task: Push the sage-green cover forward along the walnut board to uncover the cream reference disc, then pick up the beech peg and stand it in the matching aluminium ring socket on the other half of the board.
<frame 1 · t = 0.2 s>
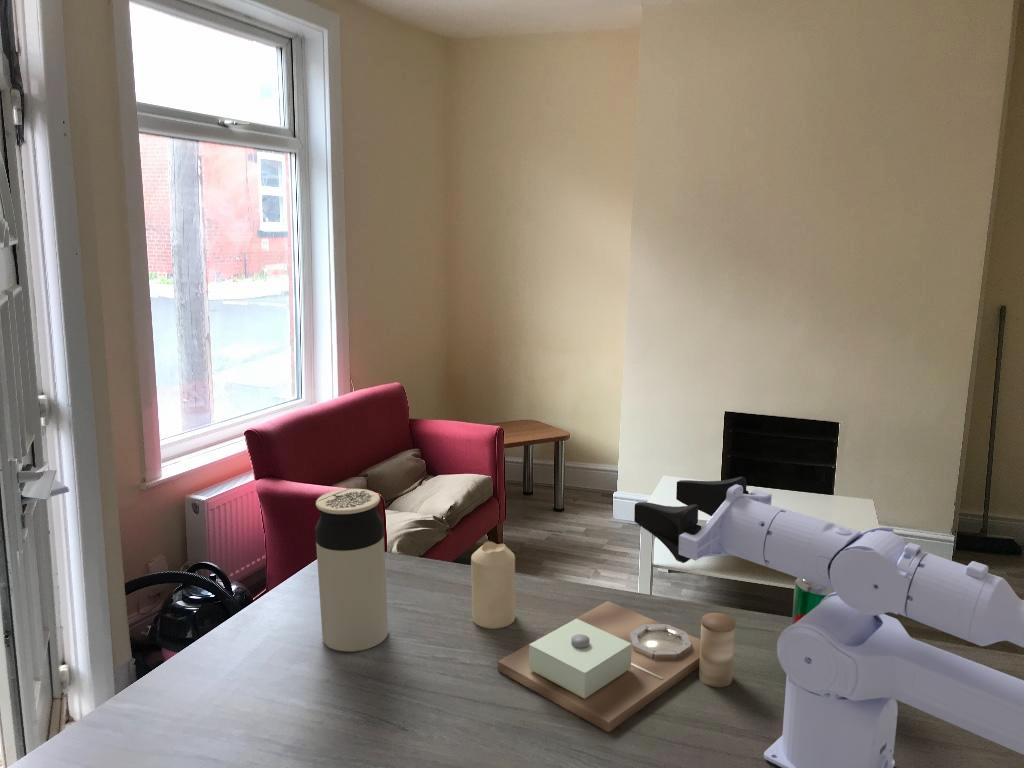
hand: (657, 500, 87), 21 cm above the table, tool horizontal, fingers open, 7 cm apart
board: (608, 662, 95), on the table
socket ring: (659, 652, 97), resting on board
soda can: (812, 676, 92), on the table
cover: (580, 653, 91), point 3 cm above the table, slide at 0.0 cm
peg: (715, 677, 92), on the table
travel mug: (355, 638, 101), on the table
candle: (493, 619, 105), on the table
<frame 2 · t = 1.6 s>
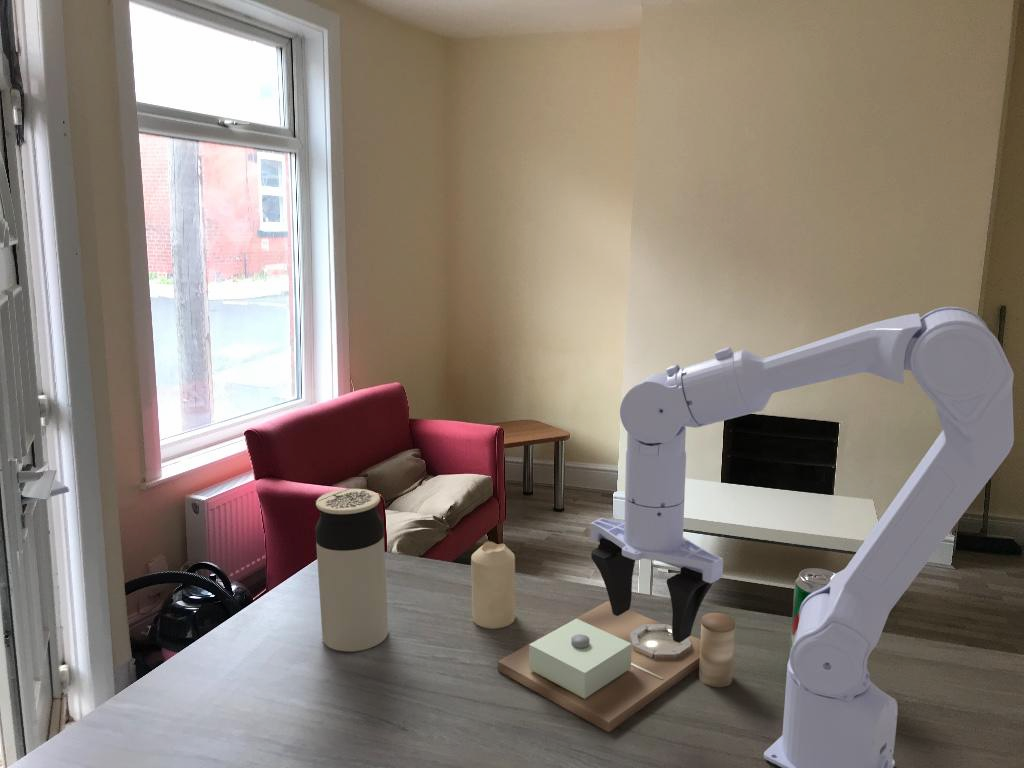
hand: (650, 624, 83), 10 cm above the table, tool pointing down, fingers open, 7 cm apart
nothing on the table moved.
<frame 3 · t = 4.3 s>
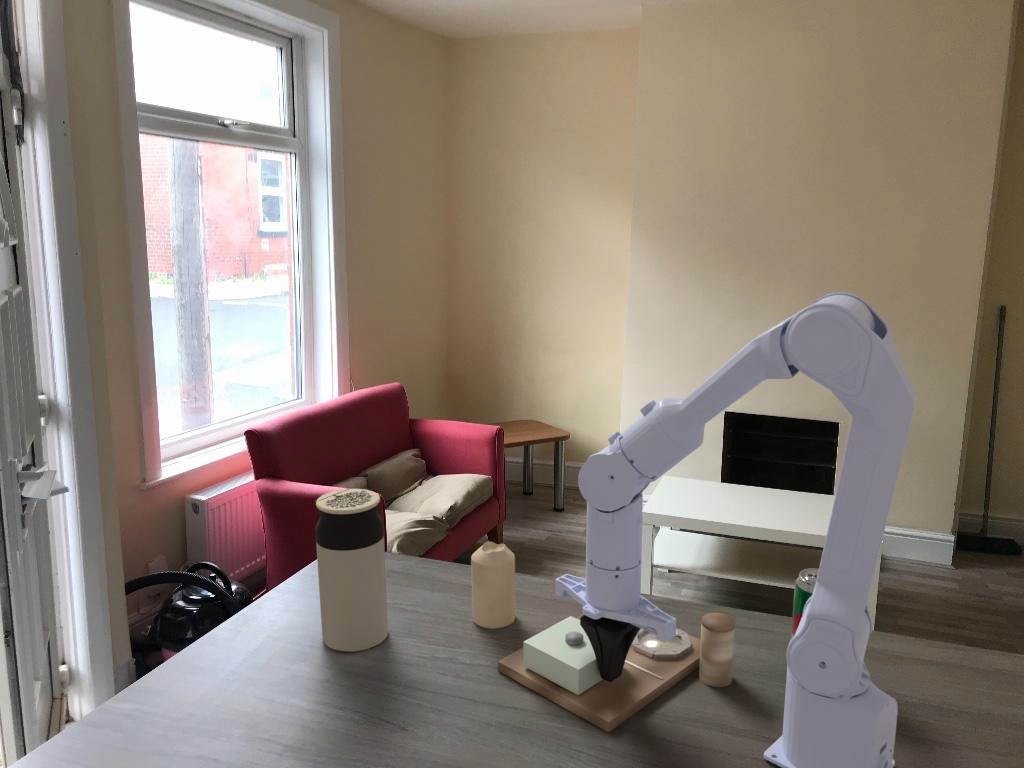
hand: (611, 676, 88), 2 cm above the table, tool pointing down, fingers closed
cover: (574, 650, 91), point 3 cm above the table, slide at 0.9 cm, touching gripper
everything else where it was.
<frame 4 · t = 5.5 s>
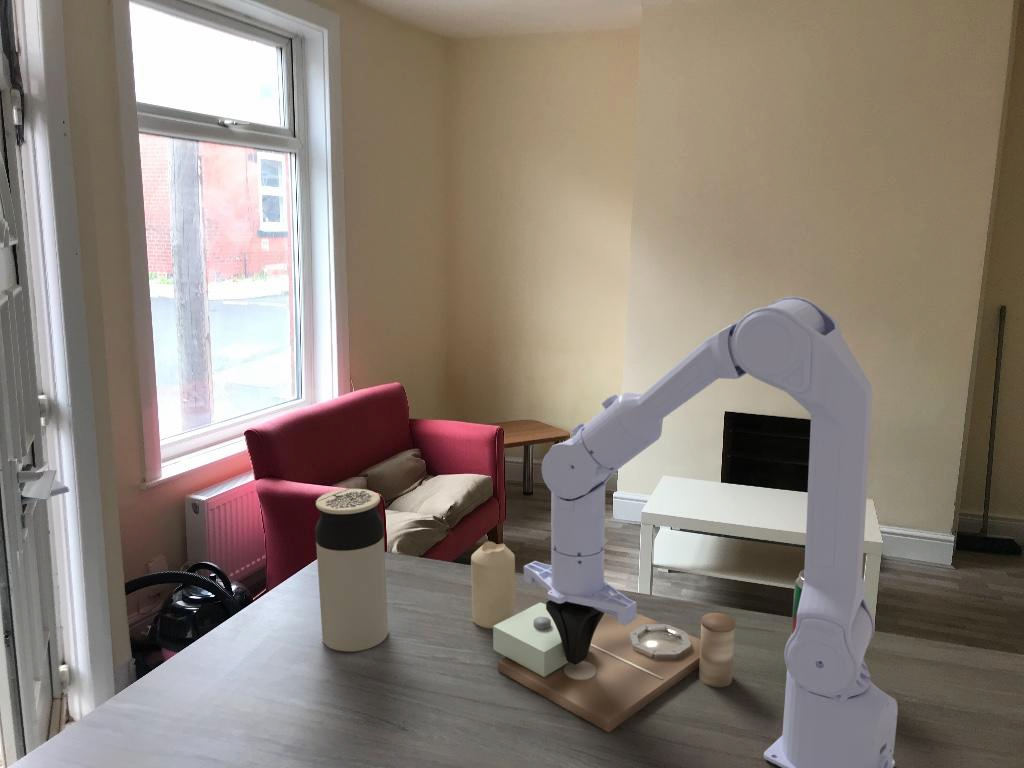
hand: (576, 659, 91), 2 cm above the table, tool pointing down, fingers closed
cover: (542, 635, 95), point 3 cm above the table, slide at 5.7 cm, touching gripper
everything else where it was.
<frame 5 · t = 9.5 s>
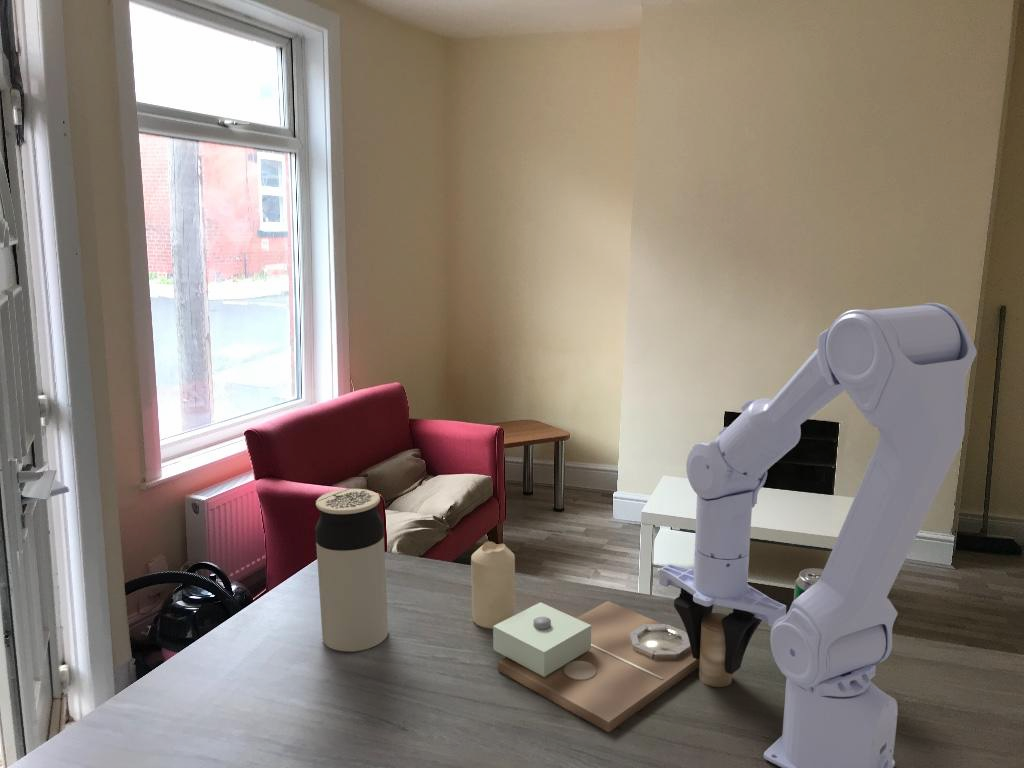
hand: (716, 662, 91), 2 cm above the table, tool pointing down, fingers closed on peg, 4 cm apart
cover: (542, 635, 95), point 3 cm above the table, slide at 5.8 cm
peg: (715, 677, 92), on the table, touching gripper
everything else where it was.
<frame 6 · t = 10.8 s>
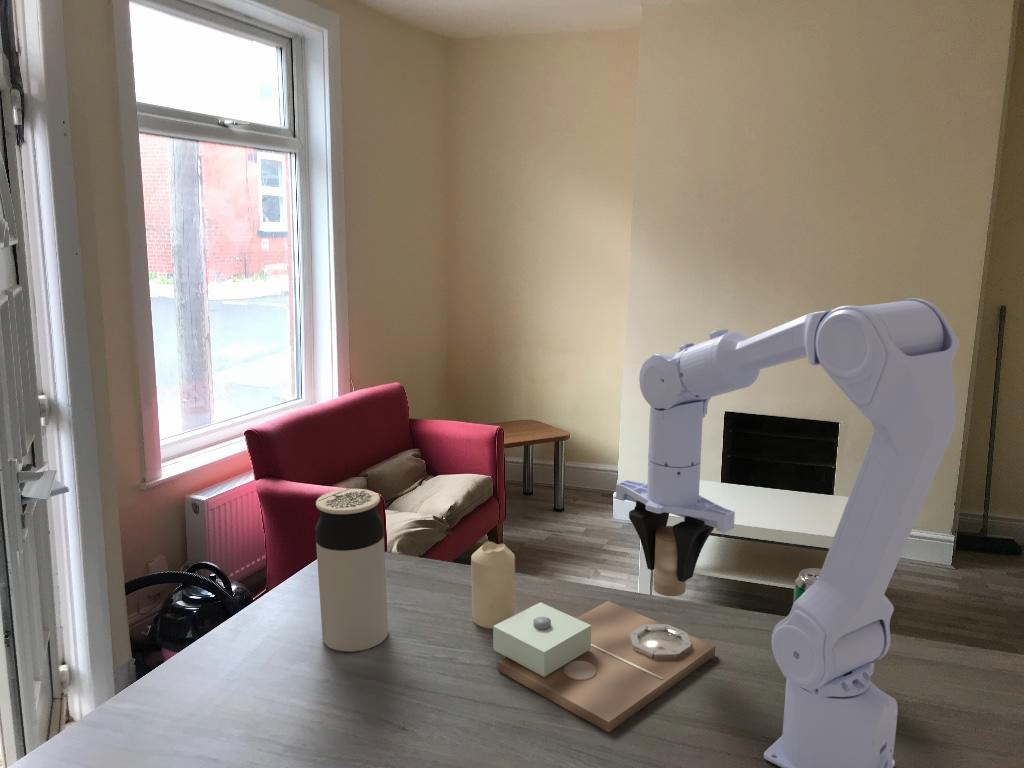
hand: (669, 572, 94), 11 cm above the table, tool pointing down, fingers closed on peg, 4 cm apart
peg: (669, 588, 95), point 8 cm above the table, touching gripper
everything else where it was.
when the fingers open (4 cm above the table, at t = 12.4 s): peg stays where it is, resting on socket ring.
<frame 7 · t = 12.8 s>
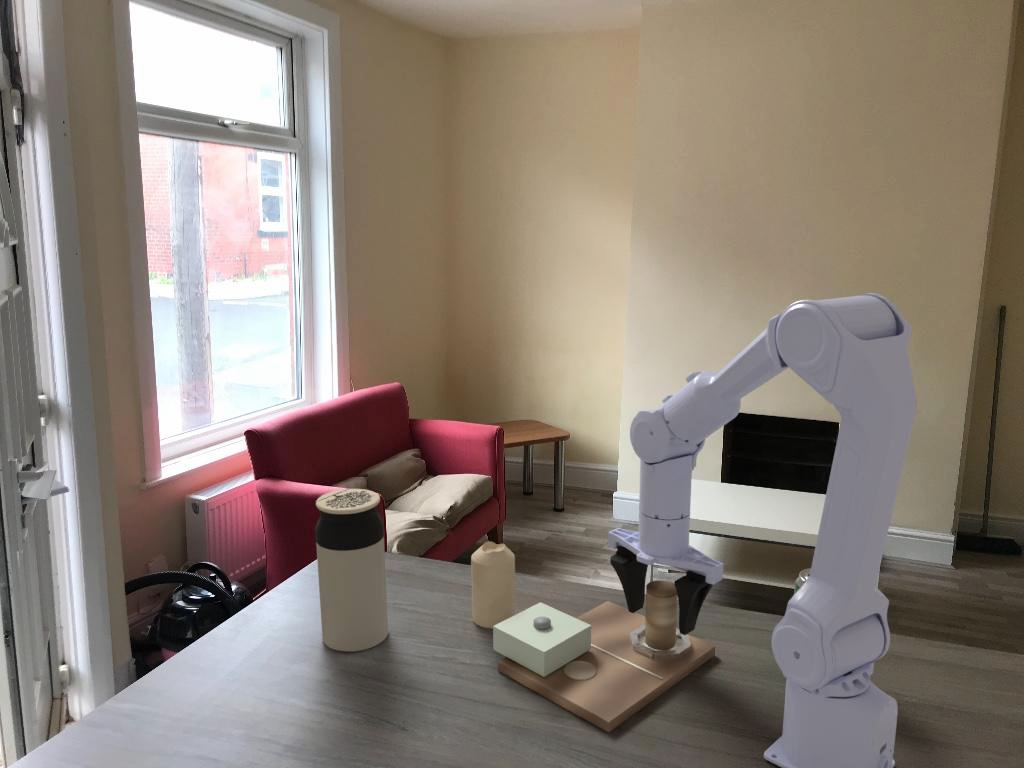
hand: (660, 620, 96), 4 cm above the table, tool pointing down, fingers open, 7 cm apart
peg: (660, 642, 97), point 1 cm above the table, touching socket ring
everything else where it was.
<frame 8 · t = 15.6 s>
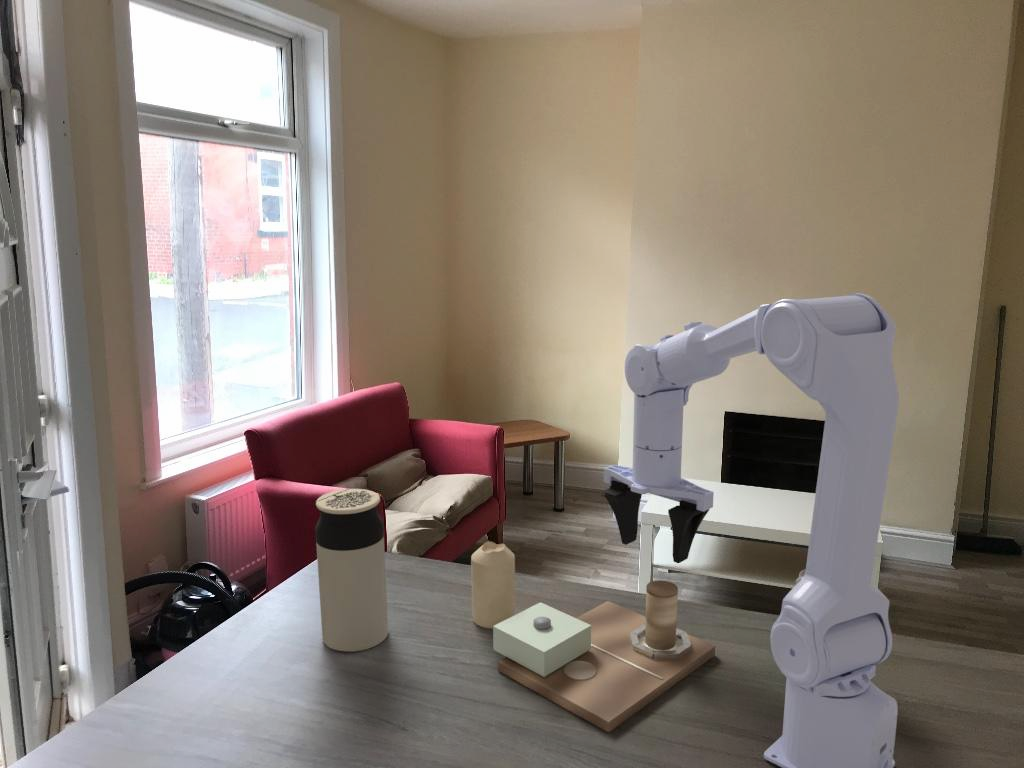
hand: (654, 550, 100), 10 cm above the table, tool pointing down, fingers open, 7 cm apart
nothing on the table moved.
at the end: cover slide at 5.8 cm; peg 0.0 cm from the socket ring (horizontally); peg tilted 0° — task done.
